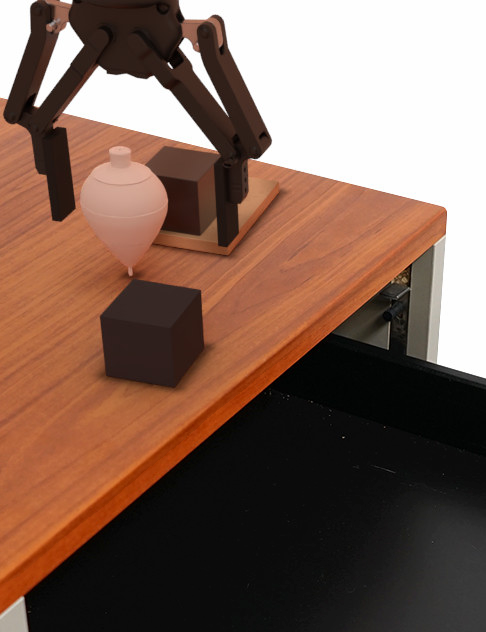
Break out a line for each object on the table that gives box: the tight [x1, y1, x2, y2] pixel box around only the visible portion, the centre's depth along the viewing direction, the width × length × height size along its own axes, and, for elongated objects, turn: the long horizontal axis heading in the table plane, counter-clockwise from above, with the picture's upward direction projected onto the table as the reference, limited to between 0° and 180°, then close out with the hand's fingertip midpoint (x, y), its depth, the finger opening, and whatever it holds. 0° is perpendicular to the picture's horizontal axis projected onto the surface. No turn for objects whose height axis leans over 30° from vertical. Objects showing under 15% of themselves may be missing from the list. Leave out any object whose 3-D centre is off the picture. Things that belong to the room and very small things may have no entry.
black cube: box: [99, 278, 205, 388], centre depth 115 cm, size 6×7×6 cm
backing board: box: [144, 145, 280, 256], centre depth 138 cm, size 12×16×7 cm
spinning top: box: [79, 145, 168, 277], centre depth 125 cm, size 8×8×12 cm
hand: (145, 227), depth 109 cm, fingers open, 13 cm apart
